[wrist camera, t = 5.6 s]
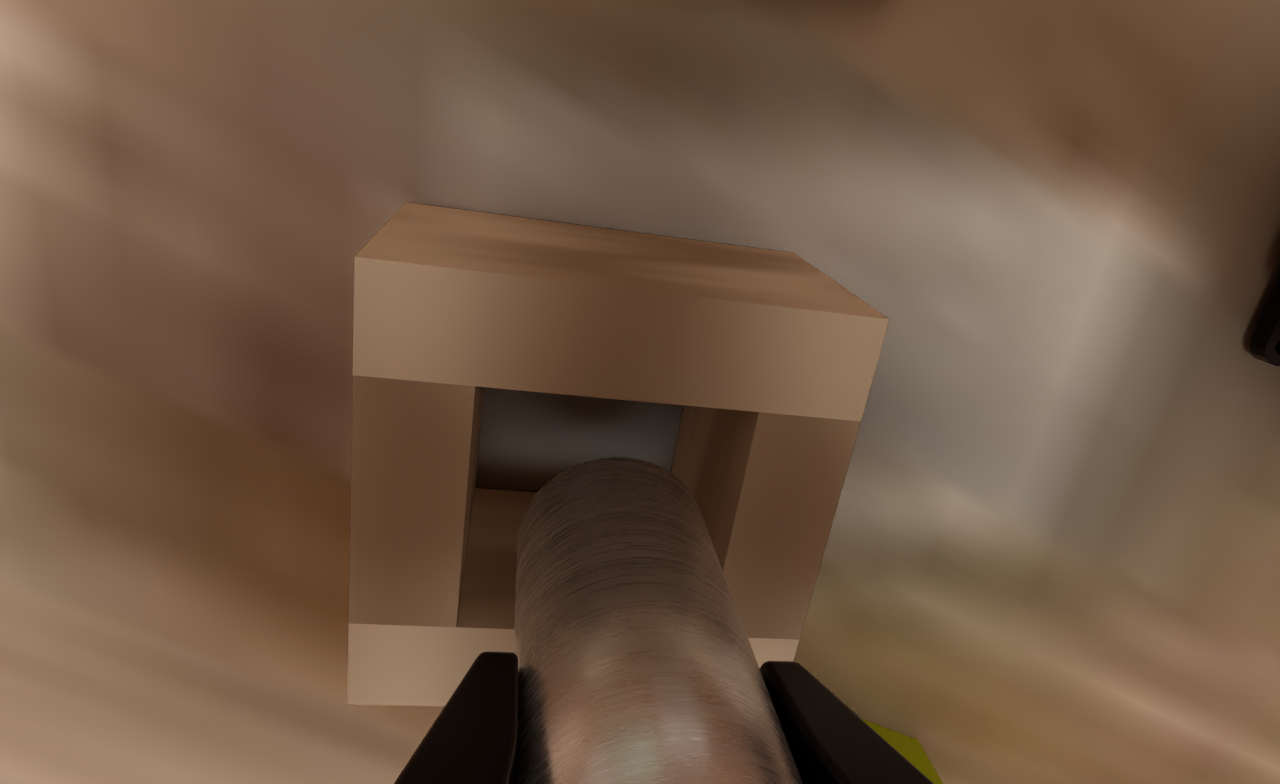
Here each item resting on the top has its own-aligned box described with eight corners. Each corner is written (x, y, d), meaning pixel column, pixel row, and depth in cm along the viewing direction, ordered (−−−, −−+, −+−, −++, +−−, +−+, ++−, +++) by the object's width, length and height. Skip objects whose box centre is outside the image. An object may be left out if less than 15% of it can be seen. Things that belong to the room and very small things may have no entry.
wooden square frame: (793, 253, 15) (889, 319, 11) (722, 566, 18) (778, 712, 14) (406, 202, 14) (354, 257, 10) (392, 548, 17) (347, 704, 13)
